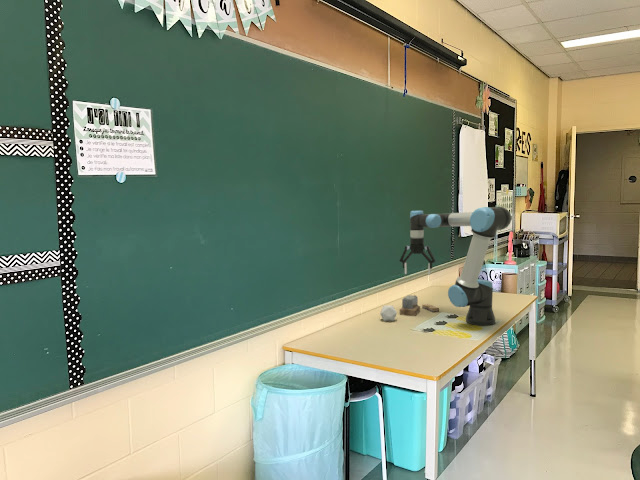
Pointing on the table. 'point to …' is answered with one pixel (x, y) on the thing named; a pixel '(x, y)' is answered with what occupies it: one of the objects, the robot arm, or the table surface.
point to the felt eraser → (430, 308)
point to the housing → (410, 302)
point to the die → (388, 313)
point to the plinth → (410, 311)
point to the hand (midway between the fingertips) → (417, 274)
